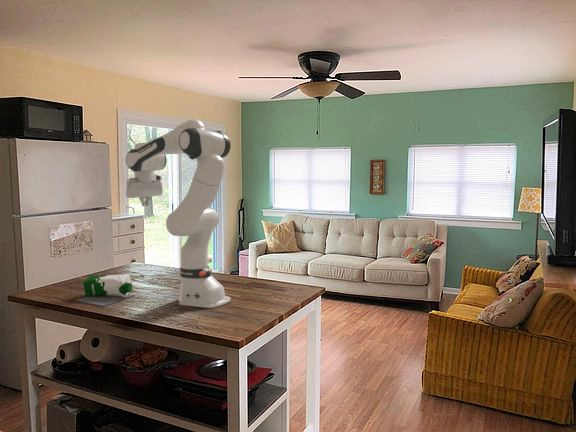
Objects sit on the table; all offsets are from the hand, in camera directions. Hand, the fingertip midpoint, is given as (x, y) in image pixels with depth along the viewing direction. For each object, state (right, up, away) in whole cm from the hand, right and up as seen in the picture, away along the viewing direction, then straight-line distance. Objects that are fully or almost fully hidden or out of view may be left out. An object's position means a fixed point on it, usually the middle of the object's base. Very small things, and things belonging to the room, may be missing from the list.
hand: (145, 206), depth 229 cm
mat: (-10, -40, -24) cm, 48 cm away
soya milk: (-20, -35, -19) cm, 45 cm away
